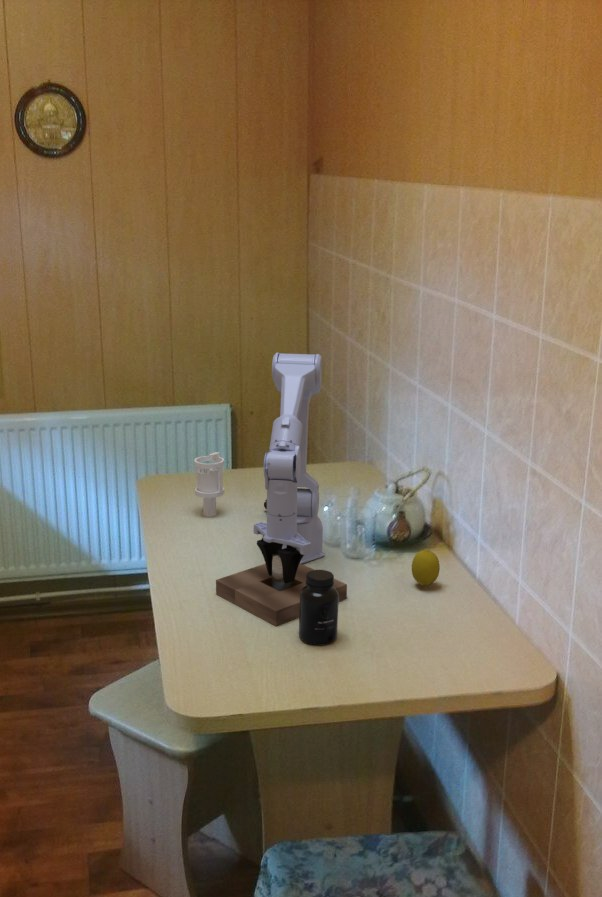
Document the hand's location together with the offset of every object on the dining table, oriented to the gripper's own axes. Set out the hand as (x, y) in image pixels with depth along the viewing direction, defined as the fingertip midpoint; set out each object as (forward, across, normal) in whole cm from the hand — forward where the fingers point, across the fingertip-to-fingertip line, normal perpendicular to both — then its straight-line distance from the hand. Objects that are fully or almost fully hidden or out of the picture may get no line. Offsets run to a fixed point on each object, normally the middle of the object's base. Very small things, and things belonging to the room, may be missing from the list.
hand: (281, 577), depth 180 cm
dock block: (+4, 0, 0) cm, 4 cm away
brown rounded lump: (+4, -32, +28) cm, 43 cm away
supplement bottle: (+4, +17, -6) cm, 18 cm away
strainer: (+4, -46, +17) cm, 49 cm away
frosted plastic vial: (+2, 0, 0) cm, 2 cm away
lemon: (+4, +15, +25) cm, 29 cm away
